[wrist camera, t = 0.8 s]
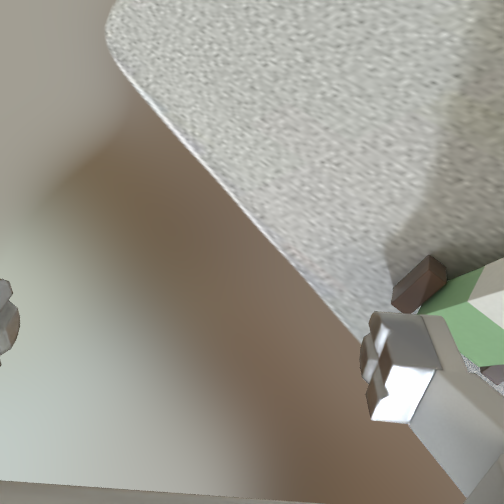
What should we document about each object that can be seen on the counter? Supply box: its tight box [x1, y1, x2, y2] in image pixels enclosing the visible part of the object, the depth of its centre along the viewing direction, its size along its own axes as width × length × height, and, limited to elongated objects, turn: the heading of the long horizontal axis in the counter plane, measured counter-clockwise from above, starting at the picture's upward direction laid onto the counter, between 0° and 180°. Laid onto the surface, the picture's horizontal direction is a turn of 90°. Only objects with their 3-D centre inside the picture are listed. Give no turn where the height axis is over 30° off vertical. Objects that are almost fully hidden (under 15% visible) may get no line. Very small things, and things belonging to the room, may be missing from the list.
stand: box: [391, 255, 504, 385], centre depth 34 cm, size 4×10×2 cm, turn 58°
